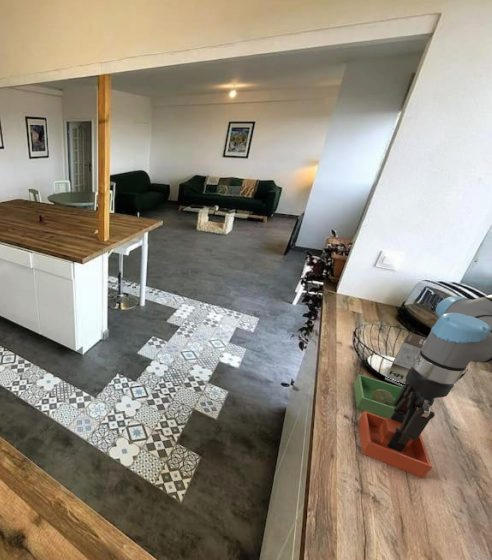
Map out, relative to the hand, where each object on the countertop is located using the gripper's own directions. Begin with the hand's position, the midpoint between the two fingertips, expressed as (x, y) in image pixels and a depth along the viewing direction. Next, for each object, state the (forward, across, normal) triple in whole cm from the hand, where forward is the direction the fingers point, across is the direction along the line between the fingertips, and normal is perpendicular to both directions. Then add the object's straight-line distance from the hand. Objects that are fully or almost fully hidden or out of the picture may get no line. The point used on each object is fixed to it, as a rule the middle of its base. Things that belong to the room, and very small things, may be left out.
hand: (392, 440), depth 83 cm
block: (0, 0, 0) cm, 0 cm away
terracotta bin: (+3, 0, 0) cm, 3 cm away
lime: (+3, -18, 0) cm, 18 cm away
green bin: (+3, -18, 0) cm, 18 cm away
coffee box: (+3, -36, +8) cm, 37 cm away
